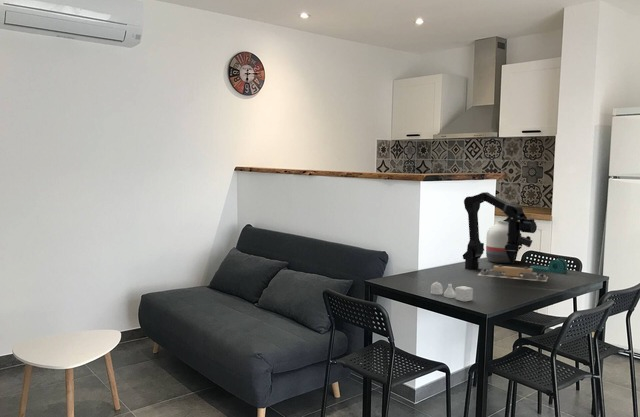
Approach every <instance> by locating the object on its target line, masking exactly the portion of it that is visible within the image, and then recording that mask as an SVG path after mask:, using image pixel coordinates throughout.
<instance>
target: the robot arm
mask: <svg viewBox="0 0 640 417" xmlns="http://www.w3.org/2000/svg"><path fill="white" fill-rule="evenodd" d="M484 202H486V203H488V204H489V205H491V206H493V207H495V208H497V209H499V210H501V211H502V212H503V214H504V215H506V216H507V217H506V218H505V219H504V220H503V221H505V222H508V233H507V235H508V241H507V244H506V245H505V251H506V253H507V256H508V258H509V260H510V263H509V264H511V265H514V263H515V262H516V261H517V257H518V253H519V251H520V249H522V247H523V245H524V246H525V247H527V248H530V247H531V245H532V243H533V239H532V238H531V236H529V235H528V236H526V237H525V236H522V233H529V234H535V233H536V231H537V227H538V226H537V222H535V219H534V218H528V217H527V215H526V214H525V212H524V210H523V206H522V207H521V205H517V204H515V203H510V202H506V201H504V199H503V200H502V199H500V198H498V197H497V196H495V195H494V194H491V193H490V192H488V191H487V192H486V191H485V192H480V193H478V194H475V195H472V196H466V197H465V198H464V200H463V204H464V210H465V211H466V213H467V217H468V218H467V220H468V232H469V234H468V235H469V236H468V237H469V241H468V243H467V245H466V246H467V247H466V251H465V252H464V253H463V254H462V258H463V259H462V260H465V261H464V264H465V265H464V269H466V270H470V271H473V270H474V271H479V270H480V262H479V260H480V259H481V257H482V255H483V254H484V252H485V247H484V245H485V244H484V242H481V240H480V233H479V232H480V230H479V228H480V227H479V210H480V207H481V204H482V203H484ZM521 232H522V233H521Z"/></svg>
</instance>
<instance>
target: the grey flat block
mask: <svg viewBox="0 0 640 417" xmlns="http://www.w3.org/2000/svg"><path fill="white" fill-rule="evenodd" d="M522 275H523V278H527V279H536V278H537V276H538V280H545V278H546V277H547V276H546V274H545V273H539V274H538V272H536V271H535V272H534V271H532V274H526V273H522Z"/></svg>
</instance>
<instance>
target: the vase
mask: <svg viewBox="0 0 640 417" xmlns="http://www.w3.org/2000/svg"><path fill="white" fill-rule="evenodd" d="M507 233H508V222H505V221H504V220H497V221H495V223H494V224H493V225H492V226H490V227H489V228H488V230H487V232H486V237H485V238H486V240H485V241H486V242H485V243H486V244H485V245H486V246H485V256H486V259H487V260H488V261H489V262H492V263H495V264H511V263H510V260H509V258H508V256H507V253H506V251H505V245H506V244H507V241H508V235H507Z"/></svg>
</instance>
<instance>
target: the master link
mask: <svg viewBox="0 0 640 417" xmlns="http://www.w3.org/2000/svg"><path fill="white" fill-rule="evenodd" d="M492 269H493V271H502V272H503V273H505V275H507V276H518V277H520V274H521V275H522V274H523V273H526V274H532V272H533V271H532V270H533V269H532V268H530V267H528V266H524V267H517V266H516V267H515V266H508V265H507V266H505V265H503V264H498V265H493V268H492Z"/></svg>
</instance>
